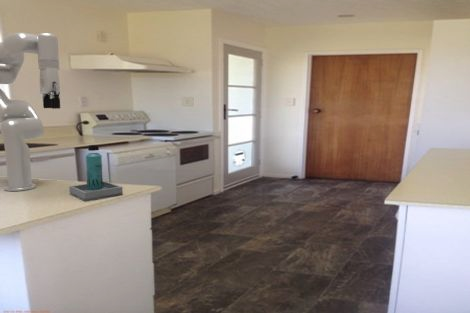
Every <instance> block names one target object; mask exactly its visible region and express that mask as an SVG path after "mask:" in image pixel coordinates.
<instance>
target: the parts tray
mask: <svg viewBox="0 0 470 313" xmlns="http://www.w3.org/2000/svg"><path fill="white" fill-rule="evenodd" d="M69 195H70V196H72V197H75V198H77V199H79V200H81V201H83V202H89V201H90V202H91V201H96V200H102V199H107V198H108V199H109V198H112V197H113V198H114V197H118V196H123V186H121V185H118V184H115V183H112V182H109V181H107V180H103V188H102V189H100V190H88V188H87V183H84V184H83V183H82V184H76V185H70V186H69Z"/></svg>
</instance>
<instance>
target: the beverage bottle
mask: <svg viewBox="0 0 470 313" xmlns="http://www.w3.org/2000/svg"><path fill="white" fill-rule="evenodd" d="M87 149H88V151H91V152H90V153H87V154H86V155H85V160H86V161H85V163H86V184H87V188H88V190H100V189H102V188H103V181H104V180H103V179H104V178H103V160H102V157H103V156H102V154H101V153H99V152H94V151H99V150H100V148H99V145H98V144H91V145H88V147H87ZM92 151H93V152H92Z"/></svg>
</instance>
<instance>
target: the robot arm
mask: <svg viewBox="0 0 470 313" xmlns="http://www.w3.org/2000/svg"><path fill="white" fill-rule="evenodd" d="M58 41H59V40H58V36H57V35H56V34H54V33H50V32H48V33H47V32H41V33H38V34H33V33H26V32H14V33H11V34H8V35H6V36H4V39H3V41H0V85H10V84H13V83H15V81H16V79H17V77H18V75H19V72H20V71H21V68H22V66H23V64H24V61H25V54H34V55H37V60H38V64H37V65H38V69H39V93H40V94H42V103H43V107H42V108H43V109H52V110H53V109H55V110H56V109H58V110H59V109H61V96H60V94H61V93H60V89H61V88H60V87H61V86H60V78H59V77H60V76H59V72H58V71H59V70H60V58H59V57H60V56H59V42H58ZM24 53H25V54H24ZM0 122H1V124H0V133H1V137H2V141H3V144H4V146H3V147H4V154H5V155H4V156H5V164H6V165H5V166H6V177H7V185H5V186H4V187H3V188H4V191H6V192H20V191H28V190H32V189H34V188H36V187H37V184H36V183H33V180H32V166H31V154H30V147H29V145H28V144H27V143H26V142H25V140H29V139H37V138H40V137H41V136H43V134H44V129H45V127H44V125H43V123H42V120H41V119H40V117H39V115H38V114H37V113H36V111H35V109H34V108H33V106H32V104H30V103H29V102H28V101H25V100H21V99H10V98H9V97H8V95H7V94H6V93H5V91H3V90H2V89H1V88H0Z"/></svg>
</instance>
